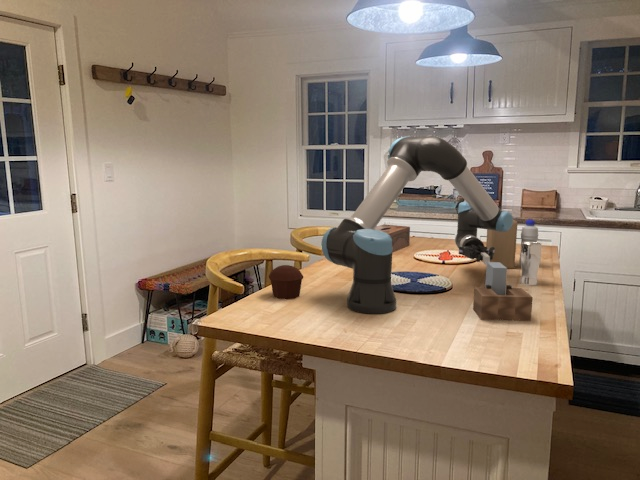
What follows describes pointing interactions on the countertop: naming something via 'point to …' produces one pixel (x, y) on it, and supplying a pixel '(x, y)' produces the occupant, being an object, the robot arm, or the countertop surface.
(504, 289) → the peg
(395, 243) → the tissue box cover
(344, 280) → the countertop surface
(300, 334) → the countertop surface
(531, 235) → the bottle
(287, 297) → the muffin
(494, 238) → the wooden block
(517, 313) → the socket block
